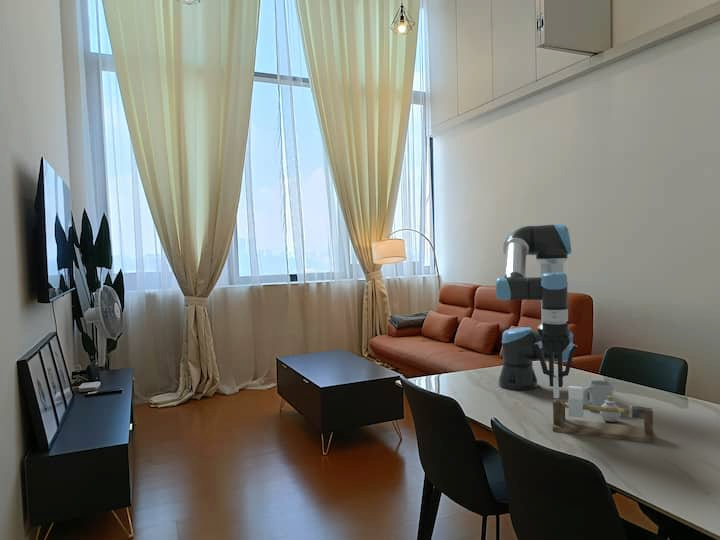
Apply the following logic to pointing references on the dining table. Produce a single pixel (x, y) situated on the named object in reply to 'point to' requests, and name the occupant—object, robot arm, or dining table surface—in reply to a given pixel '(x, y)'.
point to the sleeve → (575, 401)
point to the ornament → (609, 415)
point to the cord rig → (604, 428)
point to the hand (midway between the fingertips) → (556, 396)
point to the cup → (597, 392)
